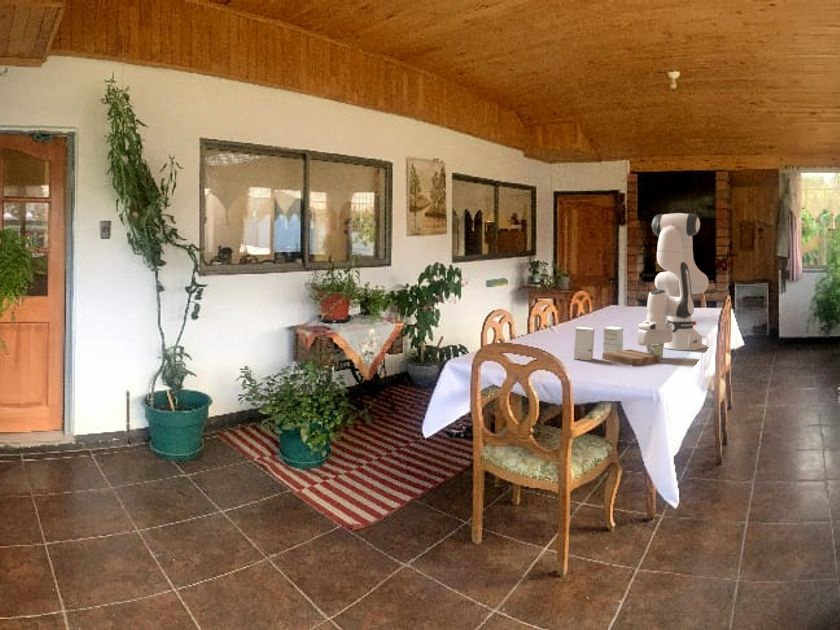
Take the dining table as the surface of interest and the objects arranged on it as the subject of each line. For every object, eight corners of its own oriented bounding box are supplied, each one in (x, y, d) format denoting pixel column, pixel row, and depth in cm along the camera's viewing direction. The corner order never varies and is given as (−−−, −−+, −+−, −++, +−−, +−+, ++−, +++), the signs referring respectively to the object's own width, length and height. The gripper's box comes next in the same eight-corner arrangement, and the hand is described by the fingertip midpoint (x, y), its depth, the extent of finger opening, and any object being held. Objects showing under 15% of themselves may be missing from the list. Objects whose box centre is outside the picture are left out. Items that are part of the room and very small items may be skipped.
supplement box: (608, 351, 352) (609, 326, 350) (623, 352, 347) (624, 327, 346) (602, 353, 346) (603, 327, 345) (616, 355, 342) (617, 329, 340)
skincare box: (573, 359, 331) (574, 328, 329) (575, 357, 336) (576, 326, 334) (591, 360, 328) (592, 329, 326) (593, 358, 333) (594, 327, 331)
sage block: (654, 356, 338) (654, 343, 337) (662, 358, 334) (663, 345, 333) (646, 357, 336) (647, 344, 335) (655, 359, 331) (655, 346, 331)
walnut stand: (629, 355, 340) (629, 349, 340) (659, 361, 325) (659, 355, 324) (602, 359, 331) (602, 352, 331) (631, 365, 316) (632, 359, 315)
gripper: (665, 321, 341) (664, 350, 342) (635, 325, 330) (634, 354, 332) (676, 323, 335) (675, 352, 337) (646, 326, 325) (645, 356, 327)
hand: (654, 353), depth 334 cm, fingers closed on sage block, 5 cm apart
